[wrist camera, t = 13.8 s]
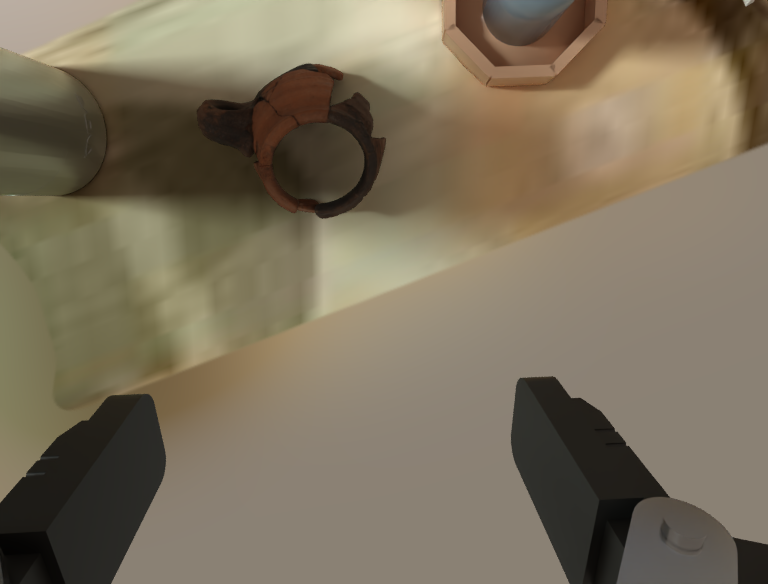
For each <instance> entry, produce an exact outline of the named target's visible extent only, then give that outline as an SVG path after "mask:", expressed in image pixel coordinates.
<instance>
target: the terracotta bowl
mask: <svg viewBox="0 0 768 584" xmlns="http://www.w3.org/2000/svg"><path fill="white" fill-rule="evenodd" d="M482 5H483V0H442V41H443V44H444V45H445V46H446V47H447V48H448V49H449V50H450V51H451V52H452V53H453V54H454V55H455V56H456V57H457V59H458V60H459V61H460V62H461V64H462V65H463V66H464V67H465V68H466V69H468V70H469V71H470V72H471V73H473V75H474V76H475V77H476V78H477V79H478V80H479V81H480V82H481V83H482V84H483V85H485V84H486V86H522V85H536V84H546V83H548V82H549V81H550V80H552V79H553V78H554V77H555V76H556V75H557V74H558V73H559V72H560V71H561V70H562V69H563V68H564V67H565V66H566V65H567V64H568V63H569V62H570V61H571V60H572V59H573V58H574V57H575V56H576V55H577V54H578V53H579V52H580V51H581V50H582V48H583V47H584V46H585V45H586V44H587V43H588V42H589V41H590V40H591V39H592V38H593V37H594V36H595V35H596V34H597V33H598V32H599V31H600V30H601V29H602V28H603V27H604V26H605V23H606V16H607V0H575V1H574V2H573V3H572V4H571V5H570V6H569V8H568V9H567V10H566V11H565V12H564V14H563V15H562V16H561V17H560V18H559V19H558V21H557V22H556V23H555V24H554V25H553V27H552V28H551V29H550V30H549V31H548V32H547V34H545V35H544V36H543V37H542V38H541V39H539V40H538V41H536V42H534V43H532V44H529V45H525V46H511V45H507V44H505V43H502V42H501V41H499V40H498V39H496V38H495V37H494V36H493V35H492V34H491V33H490V31H489V30H488V28H487V26H486V24H485V21H484V18H483V10H482Z"/></svg>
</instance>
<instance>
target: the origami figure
mask: <svg viewBox="0 0 768 584" xmlns="http://www.w3.org/2000/svg"><path fill="white" fill-rule="evenodd" d="M754 1H755V0H743V2H744V4H745V6H748V5H749V4H751V3H753V2H754Z"/></svg>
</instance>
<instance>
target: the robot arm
mask: <svg viewBox="0 0 768 584" xmlns="http://www.w3.org/2000/svg"><path fill="white" fill-rule="evenodd" d="M106 144H107V143H106V127H105V123H104V119H103V115H102V113H101V111H100V108H99V106H98V104H97V102H96V101H95V99H94V98H93V96H92V95H91V93H90V92H89V90H88V89H87V88H86V87H85V86H84V85H83V84H82V83H81V82H80V81H79V80H77V79H76V78H74V77H73V76H71V75H70V74H68V73H67V72H64V71H62V70H59V69H57V68H55V67H52V66H49V65H46V64H44V63H41V62H38V61H35V60H33V59H30V58H27V57H25V56H22V55H19V54H17V53H14V52H12V51H9V50H6V49H3V48H1V47H0V195H8V196H58V195H65V194H69V193H73V192H75V191H77V190H78V189H80V188H82V187H84V186H85V185H86V184H87V183H88V182H89V181H91V180H92V179H93V177H94V176H95V174H96V173H97V172H98V170H99V169H100V166H101V164H102V161H103V159H104V156H105V150H106ZM513 413H514V414H513V423H512V432H511V445H512V453H513V457H514V461H515V463H516V466H517V468H518V470H519V472H520V475H521V477H522V479H523V481H524V484H525V486H526V487H527V490H528V492H529V494H530V497H531V499H532V501H533V503H534V506H535V508H536V510H537V512H538V514H539V516H540V519H541V521H542V523H543V526H544V528H545V530H546V532H547V534H548V536H549V539H550V541H551V543H552V545H553V548H554V550H555V552H556V554H557V557H558V559H559V561H560V563H561V565H562V568H563V570H564V572H565V574H566V577H567V579H568V581H569V583H570V584H768V545H767V544H762V543H757V542H752V541H747V540H741V539H738V538H734V537H732V536H731V535H730V533H729V532H728V531H727V530H726V528H725V527H724V526H723V525H722V524H721V523H720V522H719V521H717V520H716V519H715V518H714V517H712V516H711V515H710V514H708V513H706V512H705V511H704V510H702V509H700V508H698V507H696V506H694V505H692V504H689V503H687V502H684V501H681V500H677V499H673V498H670V497H669V496H668V494H666V492H665V491H664V489H663V488H662V487H661V486H660V484H659V483H658V482H657V481H656V479H655V478H654V477H653V476H652V474H651V473H650V472H649V471H648V470H647V468H646V467H645V466H644V465H643V463H642V462H641V461H640V459H639V458H638V457H637V456H636V454H635V453H634V452H633V451H632V449H631V448H630V447H629V446H626V442H625V441H624V440H623V438H622V437H621V436H620V435H619V434H618V432H615V429H614V427H613V426H612V425H611V423H610V422H609V421H608V420H607V419H606V417H605V416H604V415H603V413H602V412H601V411H599V410H598V409H596V408H595V407H593V406H592V405H590V404H589V403H587V402H586V401H584V400H583V399H581V398H571V397H570V396H569V395H568V394H567V392H566V391H565V389H564V388H563V387H562V385H561V384H560V383H559V381H558V380H557V379H556V378H555V377H553V376H552V377H531V378H530V377H529V378H520V379H519V380H518V382H517V385H516V393H515V403H514V412H513ZM165 465H166V455H165V449H164V444H163V440H162V435H161V431H160V426H159V422H158V417H157V413H156V409H155V404H154V401H153V399H152V397H151V396H150V395H149V394H134V395H112V396H109V397H108V398H107V399H106V400H105V401H104V402H103V403H102V405H101V406H100V407H99V408H98V409H97V411H96V412H95V413H94V415H93V416H92V417H91V418H90V419H89V420H88V421H81V422H79V423H78V424H77V425H75V426H73V427H72V428H71V429H69V430H68V431H66V432H65V433H63V434H62V435H60V436H59V437H57V438H56V440H55V441H54V442H53V443H52V444H51V445H50V446H49V448H48V449H47V450H46V451H45V452H44V454H42V456H41V459H40V460H39V461H36V463H35V464H34V465H33V466H32V467H31V468H30V469H29V471H28V472H27V473H26V474H27V475H26V477H22V479H21V480H20V481H19V482H18V483H17V484H16V485H15V487H14V488H13V489H12V490H11V491H10V492H9V493H8V495H7V496H6V497H5V498H4V499H3V501H2V502H1V503H0V584H111V583H112V580H113V579H114V577H115V575H116V573H117V570H118V569H119V567H120V564H121V562H122V560H123V559H124V556H125V555H126V552H127V551H128V549H129V546H130V544H131V542H132V540H133V538H134V536H135V534H136V532H137V530H138V528H139V526H140V524H141V522H142V520H143V518H144V516H145V514H146V512H147V510H148V508H149V506H150V504H151V502H152V500H153V498H154V496H155V494H156V492H157V490H158V488H159V486H160V484H161V482H162V479H163V476H164V472H165Z"/></svg>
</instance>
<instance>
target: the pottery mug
mask: <svg viewBox="0 0 768 584" xmlns="http://www.w3.org/2000/svg"><path fill="white" fill-rule="evenodd" d="M331 77H332V78H334V79H337V80H342V79H343V73H342V72H340V71H339V70H337V69H335V68H332V67H328V66H324V65H320V64H304V65H300V66H298V67H296V68H294V69H291V70H290V71H288V72H286V73H284V74H282V75H281V76H279V77H277V78H276V79H274V80H273V81H271V82H270V83H268V84H267V85H266V86H265V87H264V88H263V89H262V90H261V91H259V92H258V94H257V96H256V98H255V99H254V100H253V101H251V102H247V103H235V102H229V101H224V100H205V101H204V102H203V103H202V105H201V106H200V107H199V108H198V110H197V119H198V126H199V128H200V129H201V131H202V133H203V135H204V136H206V137H207V138H208V139H210V140H212V141H215V142H217V143H220V144H223V145H227V146H231V147H234V148H236V149H238V150H239V151H241V152H242V154H243V155H244V156H246V157H251V156H252V155H253V154H254V152H255V154H256V155H257V158H258V161H256V162H254V163H253V164H254V167H255V170H256V171H257V173H258V175H259V177H260V178H261V180H262V181H263V184H264V186H265V188H266V190H267V192H268V194H269V195H270V196H271V197H272V198H273V200H274V201H276V202H277V203H278V205H280V206H281V207H283V208H284V209H286V210H288V211H290V212H292V213H296V212H297V210H299V211H304V212H312V213H316V215H317V216H318V217H320V218H322V219H323V218H330V217H334V216H337V215H339V214H342V213H345V212H347V211H349V210H351V209H352V208H354V207H355V206H356V205H357V204H359V203H360V202H361V201H362V199H363V197H364V196H366V195H367V193H368V192H369V191H370V190H371V188H372V185H373V183H374V181H375V179H376V177H377V175H378V173H379V169H380V165H381V161H382V157H383V153H384V150H385V143H386V138H384V137H383V138H381V139H379V138H372V137H371V133H372V129H373V118H372V116H371V114H370V104H369V102H368V101H367V100H366V99H365V98H364V97H363V96H362V95H361V94H360V93H358V92H356V93H354V95H353V97H352V99H347V100H345V101H344V102H342V103H339V104H336V105H332V106H330V101H331V94H332V89H333V86H334V80H332V78H331ZM309 123H332V124H335V125H337V126H340V127H342V128H344V129H345V130H347V131H348V132H350V133H351V134H352V135H353V136H354V137H355V138H356V140H357V141H358V142H359V144H360V146H361V147H362V150H363V152H364V160H365V164H364V170H363V174H362V176H361V178H360V181H359V182H358V184H357V185H356V186H355V187H354V188H353V189H352V190H351V191H350V192H349V193H348V194H346V195H345V196H343V197H342V198H339V199H338V200H335V201H332V202H328V203H321V204H319V203H318V202H317V201H315V200H312V199H296V198H294V197H292V196H291V195H289V194H288V193H287V192H285V191H284V190H283V189H282V187H281V186H280V185H279V183H278V182H277V180H276V178H275V175H274V172H273V164H272V161H273V155H274V152H275V150H276V147H277V145H278V144H279V142H280V141H281V140H282V138H283V137H284V136H285V135H287V134H288V133H289V132H290V131H292V130H293V129H295V128H297V127H299V126H302V125H305V124H309Z"/></svg>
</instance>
